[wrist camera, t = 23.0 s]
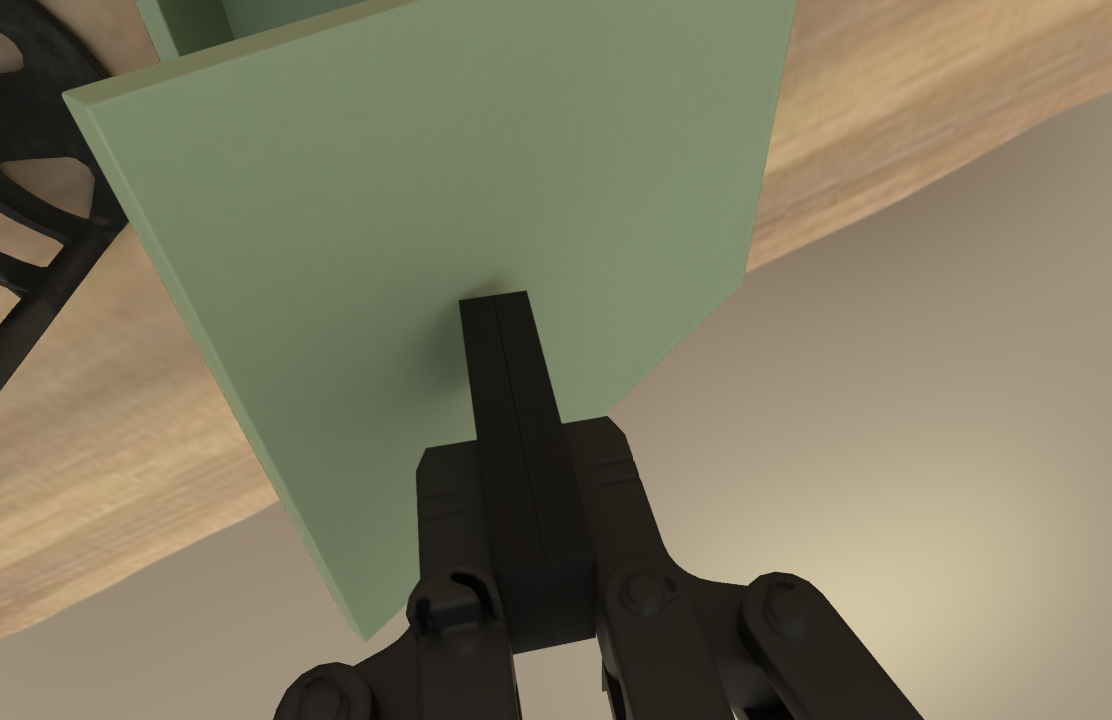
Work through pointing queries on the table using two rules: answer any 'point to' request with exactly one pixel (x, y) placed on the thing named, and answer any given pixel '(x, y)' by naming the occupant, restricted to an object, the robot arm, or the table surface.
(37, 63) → the holder
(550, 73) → the lid
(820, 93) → the table surface
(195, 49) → the box
